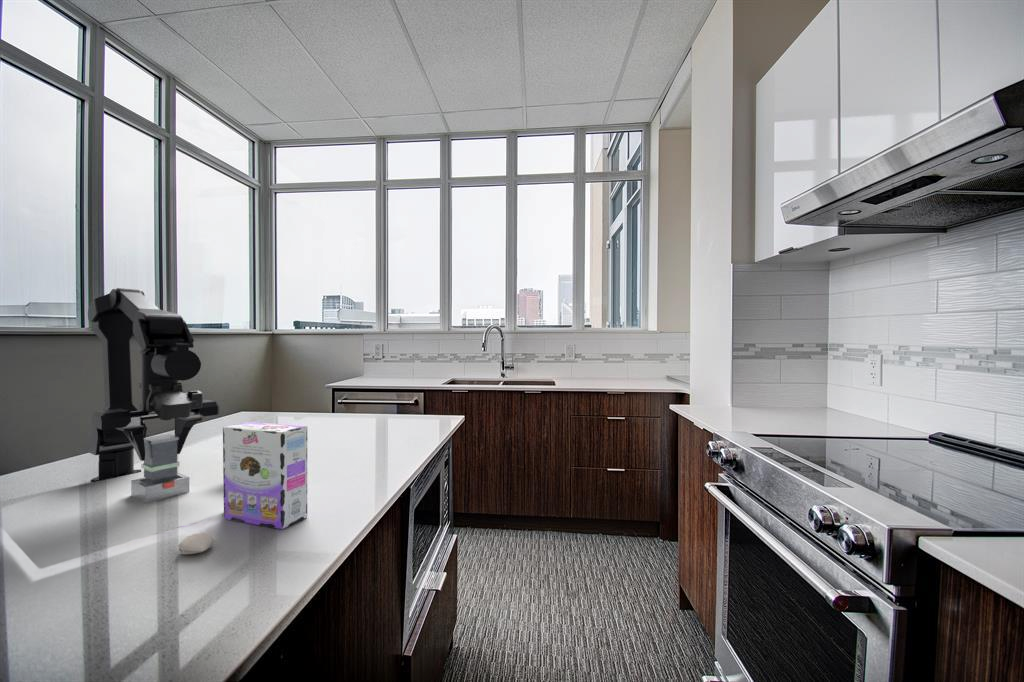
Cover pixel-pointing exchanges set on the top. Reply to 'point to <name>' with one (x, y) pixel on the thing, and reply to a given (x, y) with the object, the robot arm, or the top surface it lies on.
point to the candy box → (265, 473)
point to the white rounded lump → (196, 543)
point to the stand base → (159, 487)
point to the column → (160, 457)
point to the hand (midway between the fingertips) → (160, 457)
